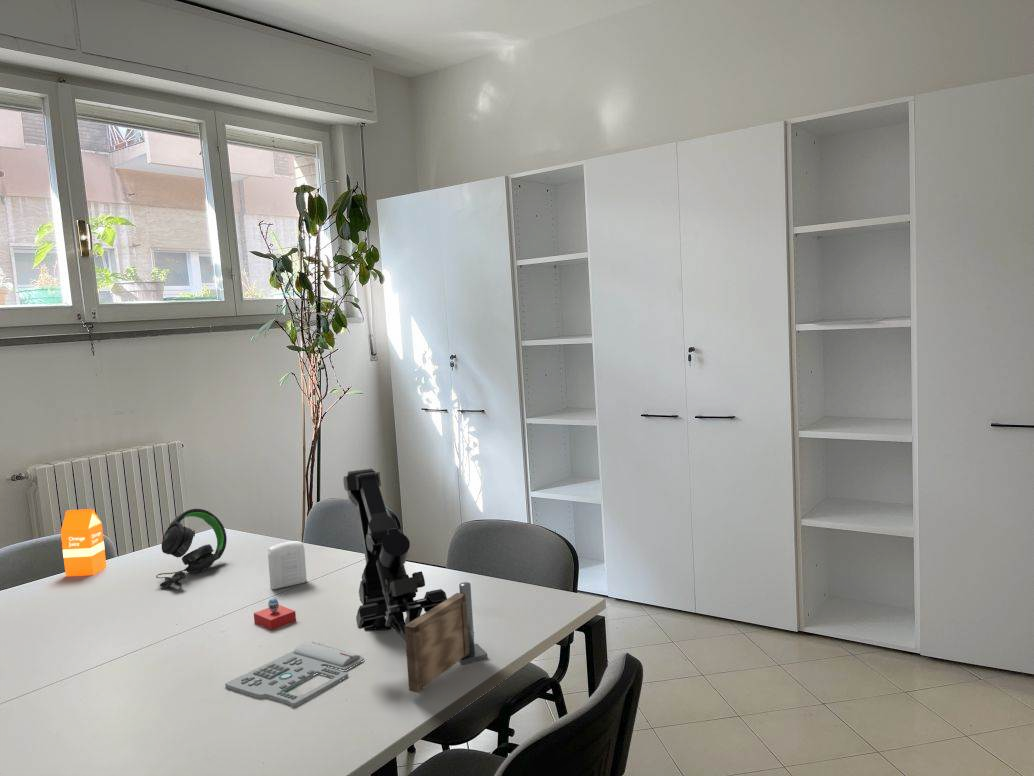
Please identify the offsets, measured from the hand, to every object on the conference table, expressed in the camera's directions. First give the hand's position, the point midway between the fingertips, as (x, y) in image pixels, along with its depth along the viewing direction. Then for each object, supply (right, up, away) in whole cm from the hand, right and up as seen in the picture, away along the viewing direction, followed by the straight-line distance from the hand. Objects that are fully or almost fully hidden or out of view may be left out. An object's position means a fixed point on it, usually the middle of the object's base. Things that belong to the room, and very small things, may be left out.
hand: (412, 646), depth 157 cm
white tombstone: (-43, -3, +61) cm, 75 cm away
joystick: (-39, -6, +34) cm, 52 cm away
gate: (+6, -4, -2) cm, 8 cm away
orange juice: (-114, -5, +84) cm, 142 cm away
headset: (-76, -4, +76) cm, 107 cm away
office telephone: (-24, -8, +4) cm, 25 cm away
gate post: (+11, -5, +8) cm, 14 cm away
